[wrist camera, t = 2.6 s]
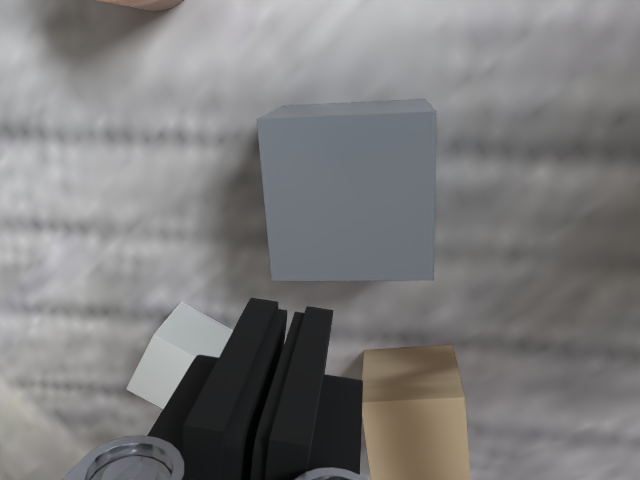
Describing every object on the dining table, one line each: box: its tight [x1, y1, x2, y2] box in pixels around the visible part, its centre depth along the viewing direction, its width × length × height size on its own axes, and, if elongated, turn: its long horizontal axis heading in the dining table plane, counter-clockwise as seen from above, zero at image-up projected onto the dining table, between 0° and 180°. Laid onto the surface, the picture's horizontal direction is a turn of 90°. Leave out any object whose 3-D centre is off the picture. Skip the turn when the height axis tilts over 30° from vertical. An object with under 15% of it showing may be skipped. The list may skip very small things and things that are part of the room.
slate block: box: [257, 99, 436, 281], centre depth 25 cm, size 7×7×6 cm
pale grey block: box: [126, 302, 233, 409], centre depth 30 cm, size 6×4×4 cm, turn 61°
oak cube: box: [362, 344, 470, 480], centre depth 29 cm, size 5×5×5 cm
